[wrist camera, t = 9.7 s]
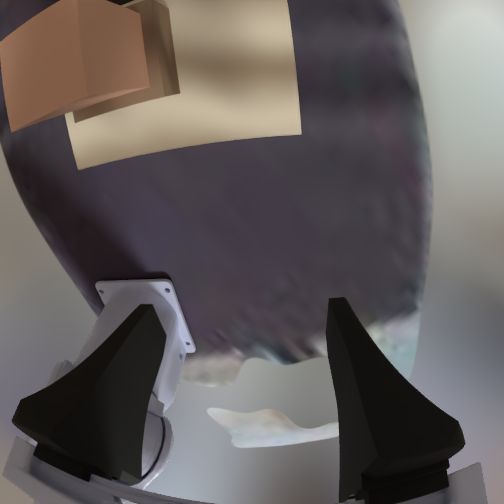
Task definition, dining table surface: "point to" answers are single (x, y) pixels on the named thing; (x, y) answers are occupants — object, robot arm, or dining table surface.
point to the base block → (157, 60)
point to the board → (207, 85)
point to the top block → (71, 60)
